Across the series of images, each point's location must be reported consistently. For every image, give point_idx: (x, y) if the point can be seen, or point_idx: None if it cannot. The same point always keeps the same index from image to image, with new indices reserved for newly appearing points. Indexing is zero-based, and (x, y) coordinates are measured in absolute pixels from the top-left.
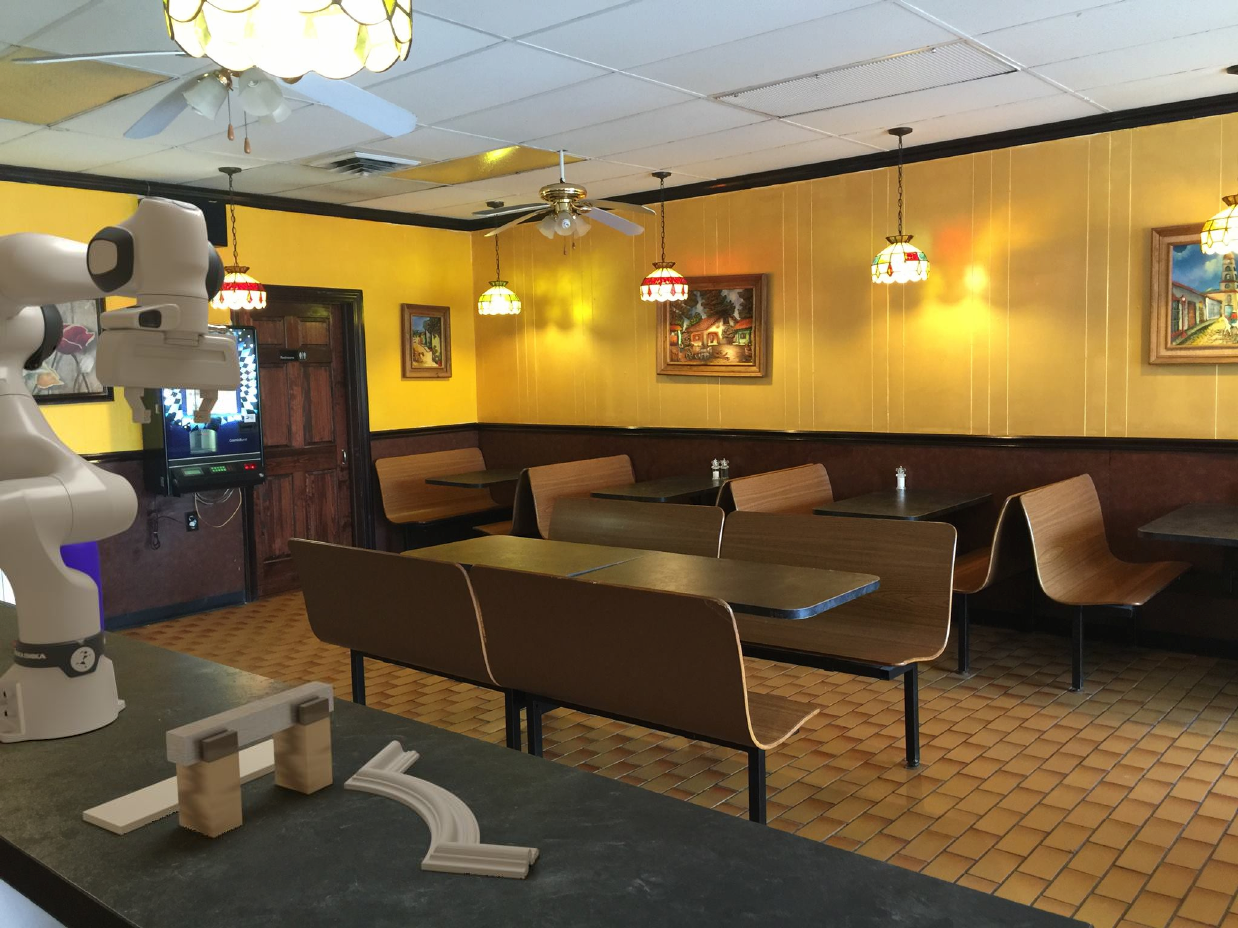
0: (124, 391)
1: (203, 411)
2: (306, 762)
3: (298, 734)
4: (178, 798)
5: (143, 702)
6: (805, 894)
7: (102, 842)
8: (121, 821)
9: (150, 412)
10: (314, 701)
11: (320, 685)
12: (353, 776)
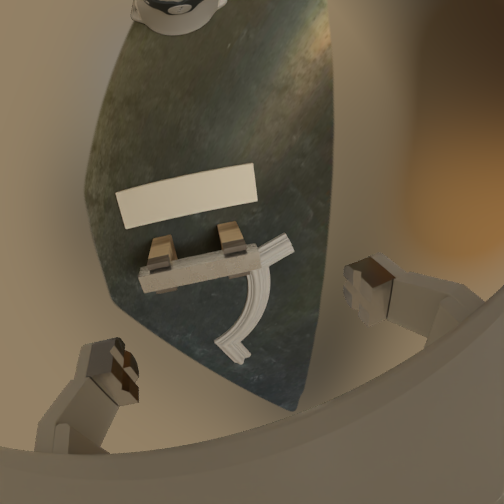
0: (38, 442)
1: (371, 324)
2: None
3: None
4: (151, 245)
5: (241, 3)
6: (277, 395)
7: (117, 229)
8: (127, 222)
9: (137, 395)
10: (240, 273)
11: (255, 263)
12: None
